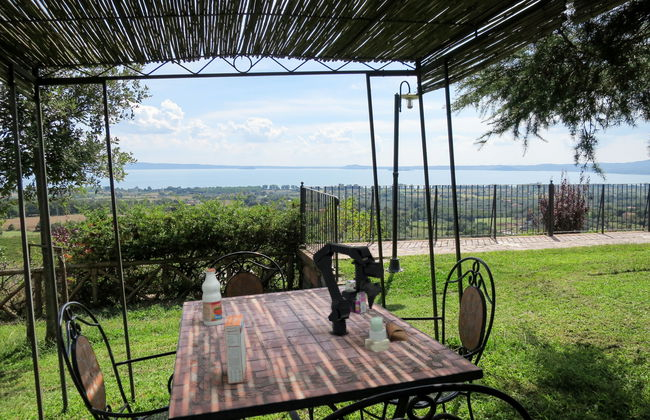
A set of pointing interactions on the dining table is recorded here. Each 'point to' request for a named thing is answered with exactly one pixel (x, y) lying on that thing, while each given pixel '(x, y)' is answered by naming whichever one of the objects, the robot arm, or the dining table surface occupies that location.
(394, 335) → the sunglasses case
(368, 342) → the birch base block
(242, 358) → the cracker box
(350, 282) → the candy bar box
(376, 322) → the mint green cylinder
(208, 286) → the fruit juice
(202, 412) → the dining table surface
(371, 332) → the grey top block
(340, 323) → the robot arm
